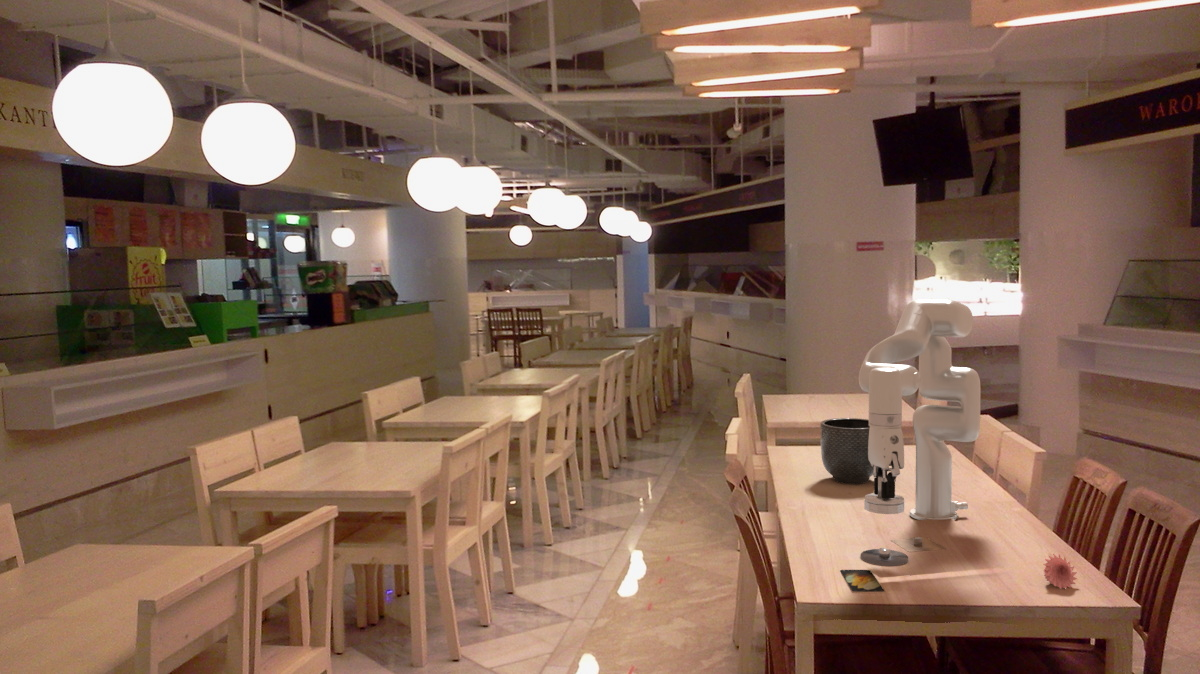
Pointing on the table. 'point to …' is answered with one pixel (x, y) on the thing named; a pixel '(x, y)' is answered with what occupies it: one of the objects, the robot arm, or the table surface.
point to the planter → (846, 449)
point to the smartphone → (862, 581)
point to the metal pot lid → (884, 557)
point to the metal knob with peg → (883, 502)
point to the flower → (1059, 572)
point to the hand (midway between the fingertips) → (884, 495)
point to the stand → (918, 544)
